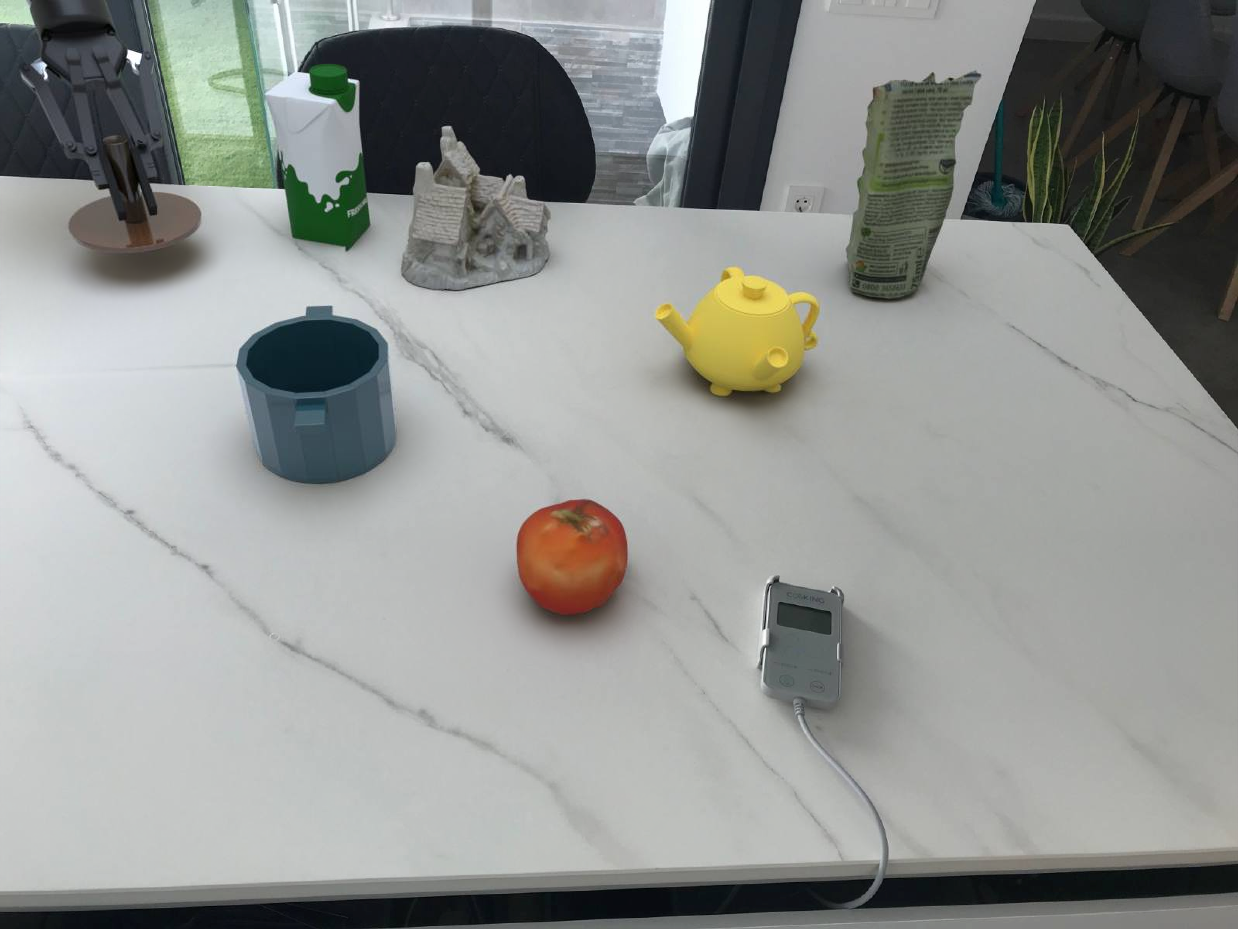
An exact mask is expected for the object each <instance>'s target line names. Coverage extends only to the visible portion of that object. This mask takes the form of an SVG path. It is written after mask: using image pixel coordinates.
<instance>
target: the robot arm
mask: <svg viewBox="0 0 1238 929" xmlns="http://www.w3.org/2000/svg"><path fill="white" fill-rule="evenodd" d="M26 3H27V5H28V6H29V13H30V15H31V19H32V22H33V24H34V27H35V31H36V34H37V36H38V40H39V43H40V50H39V58H37V59H36V60H33V62H31V63H29V62H22V63H19V67H18V68H19V73H20V76H21V79H22V82H23V83H24V84H25V85H26V86H27V87H28V88H29V89H30V90H31V91H32V92H33V93H34V94H35V95H36V97H37V99H38V101H39V104H40V105H41V107H42V109H43V111H44V113H45V116H46V117H47V120H48V121H49V124H50V126H51V128H52V131H53V132H54V135H55V136H56V139H57V140H58V143H59V145H60V147H61V148H62V151H63V153H64V155H65V156H66V158H67V159H69V160H76V159H77V160H83V161H85V162H86V163H87V165H88V167H89V171H90V173H91V176H92V179H93V182H94V186H95V187H96V188H97V190H98V191H104V190H108V191H109V195H110V196H111V198H112V201H113V204H114V207H115V210H116V213H117V216H118V219H119V221H123V220H127V216H126V209H125V206H124V203H123V200H122V197H121V194H120V191H119V189H118V186H117V183H116V180H115V177H114V174H113V171H112V168H111V165H110V162H109V159H108V156H107V153H106V151H103V152H99V151H98V150H99V149H98V145H97V140H96V136H95V129H94V124H93V119H92V115H91V109H90V104H89V100H88V94H87V92H90V91H94V90H104V91H105V92H106V95H107V97H108V99H109V100H110V101H111V103H112V105H113V108H114V110H115V112H116V113H117V116H118V118H119V120H120V122H121V124H122V126H123V128H124V130H125V132H126V135H127V136H128V140H130V143H131V145H132V148H130V150H131V154H132V158H133V162H134V166H135V170H136V174H137V178H138V182H139V186H140V189H141V192H142V194H143V197H144V200H145V203H146V206H147V209H148V212H149V215H150V216H153V215H157V204H156V201H155V198H154V195H153V192H154V191H153V190H152V186H151V183H157V182H158V170H157V167H156V164H155V161H154V158H153V156H152V153H151V152H152V151H153V150H155V149H160V148H162V147H163V145H164V132H163V131H164V130H163V126H162V121H161V116H160V112H159V106H158V101H157V96H156V91H155V86H154V81H153V75H154V71H155V56H154V54H153V53H152V52H151V51H149V50H146V51H143V52H142V53H140V52H136V51H134V50H130V49H128V47H127V44H126V43H124V41H123V40H122V39H120V37H119V35H118V32H117V29H116V27H115V24H114V21H113V18H112V14H111V12H110V9H109V8H110V7H109V5H108V2H107V1H106V0H26ZM126 64H129V65H130V66H131V71H132V72H133V74H135V75H137V76H138V81H139V84H138V85H139V89H140V95H141V99H142V104H143V108H144V115H145V120H146V124H147V129H148V133H146V134H145V132H144V131H143V129H142V126H141V125H140V122H139V121H138V119H137V116H136V115H135V112H134V110H133V108H132V106H131V104H130V102H129V100H128V98H127V96H126V94H125V92H124V89H123V87H122V83H121V81H120V78H121V76H122V73H123V71H124V69H125V67H126ZM48 71H49V72H50V73H51V74H53V75H54V76H55V77H57V78H58V79H59V80H61V82H63V83H65V85H67V86H68V87H69V88H71V89H72V94H73V98H74V103H75V109H76V113H77V119H78V124H79V130H80V135H81V140H82V142H77V141H76V140H75V138H74V136H73V133H72V131H71V130H70V127H69V125H68V123H67V121H66V119H65V117H64V114H63V113H62V111H61V109H60V107H59V104H58V103H57V100H56V98H55V96H54V95H53V92H52V90H51V88H50V86H49V84H48V83H49V81H50V80H49V75H48V73H47V72H48Z"/></svg>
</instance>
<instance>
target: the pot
mask: <svg viewBox="0 0 1238 929" xmlns="http://www.w3.org/2000/svg"><path fill="white" fill-rule="evenodd" d="M235 367H236V371H237V376H238V381H239V385H240V391H241V394H242V399H243V403H244V408H245V412H246V415H247V420H248V424H249V429H250V434H251V438H252V442H253V446H254V449H255V451H256V454H257V457H258V458H259V460H260V462H261V463H262V464H263V466H265V468H267V470H268V471H270V472H272V473H273V474H275V475H277V476H279V477H280V478H284V479H286V480H289V481H294V482H299V483H304V484H331V483H336V482H342V481H346V480H350V479H353V478H356V477H358V476H360V475H363V474H366V473H367V472H369V471H371V470H372V469H374V468H376V467H377V466H378V465H379V464H382V462H383V461H385V459H386V458H387V457H388V456H389V455H390V454H391V452H392V451H393V448H394V447H395V444H396V440H397V420H396V419H397V418H396V411H395V410H396V409H395V400H394V391H393V380H392V372H391V370H392V369H391V361H390V351H389V342H388V341H387V340H386V339H385V338H384V337H383V335H382V333H381V332H380V331H379V330H378V329H377V328H375V327H373V326H371V325H369V324H368V323H365V322H363V321H362V320H360V319H357V318H353V317H346V316H342V315H341V316H340V315H335V312H334V306H333V305H311V306H310V305H309V306H308V305H307V306H306V308H305V315H299V316H297V317H293V318H288V319H285V320H280V321H276V322H274V323H271V324H270V325H268V326H266V327H264V328H262V329H260V330H259V331H256V332H254V333H253V334H252V335H251V336H250V337H249V338H248V339H247V340H246V341H245V342H244V343H243V344H242V345H241V347H240V348H239V349H238V353H237V359H236V363H235Z"/></svg>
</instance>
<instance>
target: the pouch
mask: <svg viewBox="0 0 1238 929" xmlns="http://www.w3.org/2000/svg"><path fill="white" fill-rule="evenodd" d="M982 75H983V74H982V73H980V72H977V69H975V70H972V71H969V72H967V73H965V74H963V75H961V76H959V77H957V78H954V77H947V78H946V79H944V80H943V81H940V82H939V83H938V82H936V74H935V72H934V71H932V72H931V73H930V74H929V75H928V76H927V77H925V78H924V79H923V80H921V81H918V82H917V81H914V80H908V79H902V80H900V79H893V80H889V81H888V82H886V83H883V84H881V85H877V86H873V87H872V100H871V101H870V102H869V104H868V105H867V116H866V121H865V127H866V142H865V147H864V148H863V149H862V153H861V155H862V159H863V164H864V166H863V170H862V174H861V176H859V177H858V178H857V180H856V186H857V190H858V196H859V197H858V208H857V209H856V210H855V212H853V214H852V223H851V230H850V236H849V242H848V244H847V246H846V247H845V252H846V259H847V268H848V269H847V270H848V273H849V281H850V282H849V286H850V288H851V291H852V292H853V293H857V294H860V295H863V296H866V297H870V298H881V299H888V300H890V299H899V298H902V297H905V296H908V295H911V294H913V293H915V292H916V291H918V289H919V287H920V284H921V282H922V280H923V278H924V277H925V273H926V269H927V266H928V263H929V261H930V258H931V254H932V252H933V249H934V247H935V246H936V245H935V244H936V243H937V240H938V237H939V235H940V233H941V230H942V227H943V225H944V221H945V219H946V217H947V211H948V209H949V207H950V204H951V200H952V197H953V191H954V188H955V186H954V185H955V184H954V180H955V178H954V177H955V176H954V173H955V168H956V164H957V159H956V136H957V135H958V134H959V132H960V130H961V128H962V127H961V126H962V121H963V118H964V112H965V110H966V109H967V108H968V107H969V106H971V105H972V103H973V97H974V91H975V86H976V84H977V83H978V82H979V81H980V80H981V78H982Z"/></svg>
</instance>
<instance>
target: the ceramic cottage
mask: <svg viewBox="0 0 1238 929" xmlns="http://www.w3.org/2000/svg"><path fill="white" fill-rule="evenodd" d="M439 147H440V152H441V162H440V164H439V166H438V168H437V170H436V171H435V172H434V170H433V166H432V165H431V163H430V162H429V161H427V162H425V161H422V162H418V164H417V165H416V166H415V177H414V178H415V179H414V185H413V187H412V194H413V195H412V196H413V210H412V219H411V221H410V223H409V226H408V235H407V236H408V237H407V240H406V241H407V243H406V246H405V249H404V251H403V253H402V258H401V268H400V270H401V275H402V277H404V278H405V280H406V281H407V282H408V283H411V284H412V285H414V286H418V287H422V288H425V289H427V288H428V289H431V290H443V291H444V290H445V289H446V290H451V291H452V290H453V291H454V290H455V291H460V290H465V289H466V290H467V289H469V288H471V289H472V288H473V287H481V286H485V285H491V284H496V283H499V282H500V283H501V281H503V282H505V281H509V280H510V281H511V280H514V279H515V280H516V279H523V278H528V277H530V276H532V275H535V274H538V273H539V272H540V271H541V270H542V269H543V268H544V266H545V262H546V261H548V259H549V257H550V255H551V252H550V247H549V242H548V240H546V234H548V232H549V230H548V221H550V220H551V219H552V218H551V216H552V215H551V211H550V209H549V208H548V206H547V205H546V202H545V201H540V200H534V199H529V198H528V195H527V189H526V180H525V177H524V176H523V175H516V176H515V177H513V175H512V174H510V173H509V174H508V175H507V176H506V178H505V180H504V179H503V178H502V177H498V176H490V175H482V174H480V171H481V168H480V167H479V165H478V164H477V163H476V161H475V159H474V158H473V157H472V156H471V155H470V153H469V150H467V147H466V145H465V144H464V143H463V142H462V141H461V140H460V141H458V139H457V137H456V135H455V132H454V130H453V127H452V125H451V126H450V125H446V126H442V127H441V137H440V146H439Z"/></svg>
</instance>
